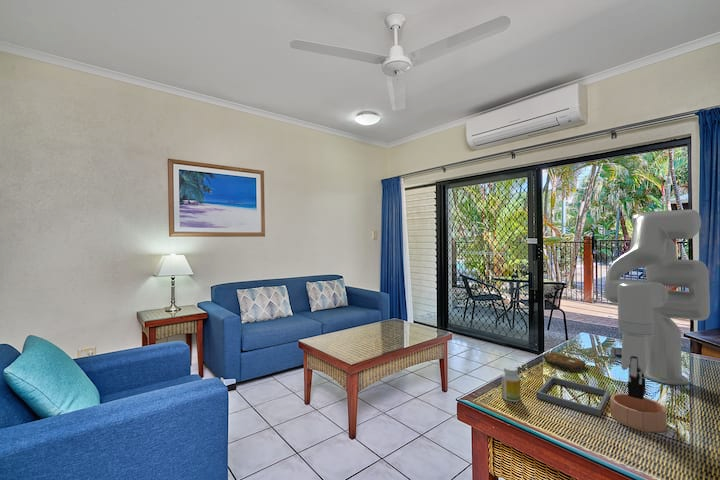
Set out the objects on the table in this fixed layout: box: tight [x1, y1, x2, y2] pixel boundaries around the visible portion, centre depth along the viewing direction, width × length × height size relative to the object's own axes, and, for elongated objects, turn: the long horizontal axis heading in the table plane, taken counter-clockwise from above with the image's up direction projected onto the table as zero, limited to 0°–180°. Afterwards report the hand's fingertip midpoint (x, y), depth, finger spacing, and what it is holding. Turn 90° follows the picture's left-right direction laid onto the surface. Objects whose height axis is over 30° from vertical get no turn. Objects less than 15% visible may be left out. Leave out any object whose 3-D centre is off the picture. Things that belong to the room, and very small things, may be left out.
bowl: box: [609, 392, 667, 434], centre depth 91 cm, size 12×12×5 cm
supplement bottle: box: [501, 365, 521, 403], centre depth 105 cm, size 5×5×10 cm
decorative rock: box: [542, 351, 586, 372], centre depth 132 cm, size 11×4×15 cm
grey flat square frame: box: [535, 376, 611, 417], centre depth 105 cm, size 17×17×2 cm
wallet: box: [609, 347, 622, 360], centre depth 140 cm, size 20×2×15 cm
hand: (636, 393), depth 91 cm, fingers closed on dice, 4 cm apart
